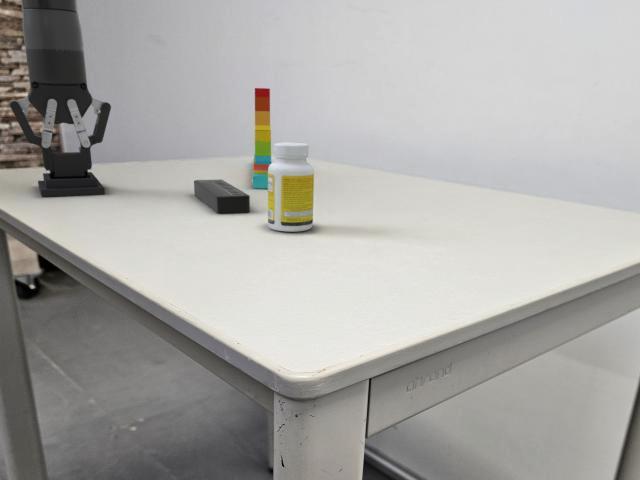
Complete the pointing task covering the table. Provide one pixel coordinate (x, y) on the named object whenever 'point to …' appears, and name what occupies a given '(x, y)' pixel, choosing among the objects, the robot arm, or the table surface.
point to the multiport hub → (221, 196)
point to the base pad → (70, 185)
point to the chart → (262, 139)
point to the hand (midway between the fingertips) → (69, 172)
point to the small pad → (68, 164)
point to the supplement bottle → (290, 188)
